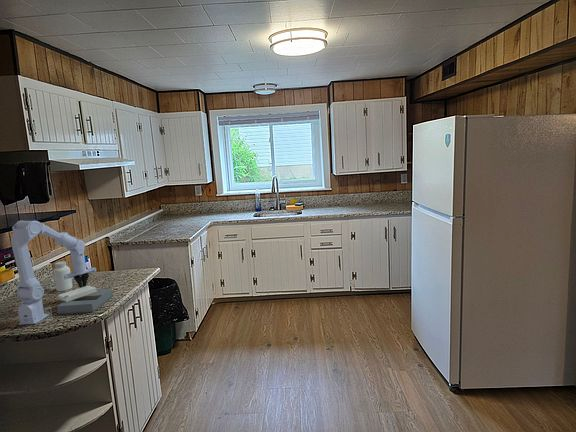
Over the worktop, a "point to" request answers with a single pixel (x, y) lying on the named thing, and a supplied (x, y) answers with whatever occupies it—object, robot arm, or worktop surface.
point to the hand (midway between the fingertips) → (83, 289)
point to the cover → (77, 293)
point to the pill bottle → (62, 276)
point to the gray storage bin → (86, 302)
